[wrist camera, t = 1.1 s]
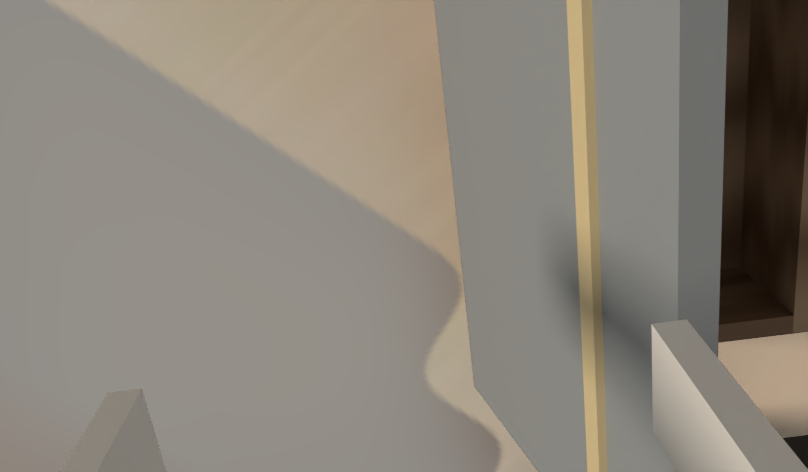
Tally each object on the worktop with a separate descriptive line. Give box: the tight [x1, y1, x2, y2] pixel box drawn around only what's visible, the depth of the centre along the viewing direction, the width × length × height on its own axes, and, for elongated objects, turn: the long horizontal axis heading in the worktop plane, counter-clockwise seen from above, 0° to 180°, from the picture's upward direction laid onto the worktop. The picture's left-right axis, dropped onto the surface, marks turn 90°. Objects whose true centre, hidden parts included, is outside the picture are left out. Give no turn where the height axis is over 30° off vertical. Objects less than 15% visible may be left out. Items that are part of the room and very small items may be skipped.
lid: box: [434, 0, 728, 472], centre depth 26 cm, size 23×17×2 cm
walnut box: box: [718, 0, 808, 342], centre depth 37 cm, size 22×16×7 cm
